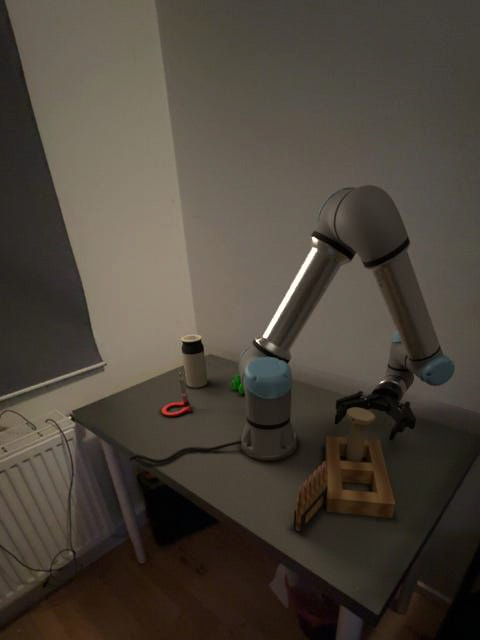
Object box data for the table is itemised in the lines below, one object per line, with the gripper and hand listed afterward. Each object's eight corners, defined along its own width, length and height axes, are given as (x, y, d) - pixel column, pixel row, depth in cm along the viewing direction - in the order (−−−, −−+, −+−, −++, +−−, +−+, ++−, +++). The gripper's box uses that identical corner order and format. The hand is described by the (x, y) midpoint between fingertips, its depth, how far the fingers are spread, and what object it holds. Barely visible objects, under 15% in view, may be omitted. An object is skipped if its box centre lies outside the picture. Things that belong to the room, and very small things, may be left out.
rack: (326, 511, 75) (328, 497, 72) (325, 448, 94) (326, 436, 92) (392, 518, 72) (395, 504, 70) (376, 451, 92) (379, 439, 89)
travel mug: (198, 389, 129) (192, 342, 119) (182, 385, 132) (175, 339, 123) (211, 381, 134) (207, 335, 125) (195, 377, 138) (189, 333, 128)
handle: (356, 475, 84) (365, 423, 76) (336, 463, 88) (342, 411, 80) (369, 468, 86) (379, 415, 78) (348, 455, 91) (356, 405, 83)
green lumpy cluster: (277, 384, 129) (278, 366, 126) (258, 401, 119) (257, 382, 115) (243, 376, 137) (242, 360, 133) (222, 392, 126) (220, 374, 122)
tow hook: (164, 420, 112) (192, 412, 114) (155, 384, 105) (185, 376, 107) (160, 409, 118) (186, 402, 121) (151, 374, 111) (179, 367, 114)
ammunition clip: (318, 499, 78) (322, 456, 71) (326, 503, 77) (331, 460, 70) (293, 529, 71) (294, 485, 65) (300, 534, 70) (303, 489, 64)
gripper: (433, 416, 95) (414, 456, 80) (344, 395, 107) (314, 426, 93) (440, 391, 91) (421, 428, 76) (347, 372, 103) (316, 401, 89)
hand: (362, 427), depth 85 cm, fingers open, 13 cm apart
